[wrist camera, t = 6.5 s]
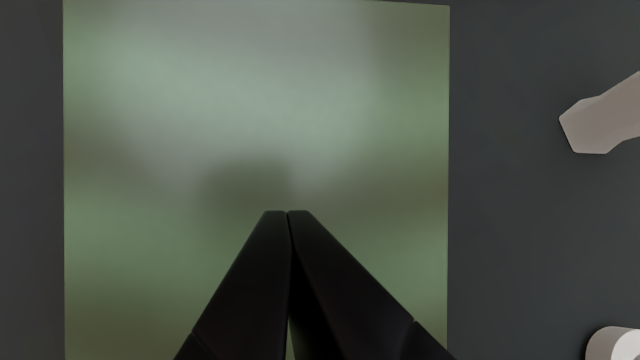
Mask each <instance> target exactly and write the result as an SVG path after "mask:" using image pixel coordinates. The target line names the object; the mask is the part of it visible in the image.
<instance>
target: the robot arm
mask: <svg viewBox="0 0 640 360" xmlns="http://www.w3.org/2000/svg"><path fill="white" fill-rule="evenodd" d="M288 321H289V329H290V335H291V341H292V346H293V352H294V357H295V360H457V359H456V358H455V357H454V356H452V355H451V354H450V353H449V352H448V351H447V350H446V349H445V348H444V347H443V346H442V345H441V344H440V343H439V342H438V341H437V340H436V339H435V338H434V337H433V336H432V335H431V334H430V333H429V332H428V331H427V330H426V329H425V328H424V327H423V326H422V325H421V324H420V323H419V322H418V321H414V317H413V316H412V315H411V314H410V313H409V312H408V311H407V310H406V309H405V308H404V307H403V306H402V305H401V304H400V303H399V302H398V301H397V300H396V299H395V298H394V297H393V296H392V295H391V294H390V293H389V292H388V291H387V290H386V289H385V288H384V287H383V286H382V285H381V284H380V283H379V282H378V281H377V280H376V278H375V277H374V276H373V275H372V274H371V273H370V272H369V271H368V270H367V269H366V268H365V267H364V266H363V265H362V264H361V263H360V262H359V261H358V260H357V259H356V258H355V257H354V256H353V255H352V254H351V253H350V252H349V251H348V250H347V249H346V248H345V247H344V246H343V245H342V244H341V243H340V242H339V241H338V240H337V239H336V238H335V237H334V236H333V235H332V234H331V233H330V232H329V231H328V230H327V229H326V228H325V227H324V226H323V225H322V224H321V223H320V222H319V221H318V219H317V218H316V217H315V216H314V215H313V214H312V213H311V212H310V211H308V210H289V211H288V212H287V213H286V211H284V210H266V211H264V213H263V214H262V216H261V217H260V219H259V221H258V222H257V224H256V226H255V227H254V229H253V230H252V232H251V234H250V235H249V237H248V239H247V240H246V242H245V244H244V245H243V247H242V248H241V250H240V252H239V253H238V255H237V257H236V258H235V260H234V261H233V263H232V265H231V266H230V268H229V270H228V271H227V273H226V275H225V276H224V278H223V279H222V281H221V283H220V284H219V286H218V288H217V289H216V291H215V293H214V294H213V296H212V297H211V299H210V301H209V302H208V304H207V306H206V307H205V309H204V310H203V312H202V314H201V315H200V317H199V319H198V320H197V322H196V324H195V325H194V327H193V328H192V331H191V333H190V334H189V335H188V336H187V338H186V339H185V341H184V343H183V344H182V346H181V348H180V349H179V351H178V353H177V354H176V356H175V357H174V359H173V360H286V347H287V333H288Z"/></svg>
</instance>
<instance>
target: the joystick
mask: <svg viewBox="0 0 640 360" xmlns="http://www.w3.org/2000/svg"><path fill="white" fill-rule="evenodd" d="M585 360H640V329H631V328H623V327H615V326H610V327H605V328H602V329H600V330H598V331H597V332H596V333H595V334H594V335H593V336H592V337H591V339H590V341H589V343H588V345H587V349H586V355H585Z"/></svg>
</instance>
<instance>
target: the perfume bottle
mask: <svg viewBox="0 0 640 360" xmlns="http://www.w3.org/2000/svg"><path fill="white" fill-rule="evenodd" d="M559 121H560V123H561V126H562V128H563V130H564V132H565V134H566V137H567V139H568V141H569V143H570V145H571V148H572V150H573V151H574V152H576V153H596V154H606V153H608V152H609V151H610V150H611V149H613V148H614V147H615V146H616V145H618V144H619V143H620V142H622V141H624V140H627V139H631V138H634V137H638V136H640V71H638V72H636V73H635V74H633V75H632V76H630V77H629V78H627V79H625V80H624V81H622V82H621V83H619V84H617V85H616V86H614V87H613V88H611V89H610V90H608V91H606V92H605V93H603V94H602V95H600V96H596V97H591V98H587V99H582V100H580V101H578V102H577V103H576V104H574V105H573V106H572V107H571V108H569V109H568V110H567V111H566V112H564V113H563V114H562V115H561V116H560V117H559Z"/></svg>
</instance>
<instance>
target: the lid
mask: <svg viewBox="0 0 640 360" xmlns="http://www.w3.org/2000/svg"><path fill="white" fill-rule="evenodd" d="M449 32H450V6H446V5H432V4H418V3H404V2H391V1H377V0H63V116H64V286H65V360H173V359H174V357H175V356H176V354H177V353H178V351H179V349H180V348H181V346H182V344H183V343H184V341H185V339H186V338H187V336H188V335H189V334H190V333H191V331H192V328H193V327H194V325H195V324H196V322H197V320H198V319H199V317H200V315H201V314H202V312H203V310H204V309H205V307H206V306H207V304H208V302H209V301H210V299H211V297H212V296H213V294H214V293H215V291H216V289H217V288H218V286H219V284H220V283H221V281H222V279H223V278H224V276H225V275H226V273H227V271H228V270H229V268H230V266H231V265H232V263H233V261H234V260H235V258H236V257H237V255H238V253H239V252H240V250H241V248H242V247H243V245H244V244H245V242H246V240H247V239H248V237H249V235H250V234H251V232H252V230H253V229H254V227H255V226H256V224H257V222H258V221H259V219H260V217H261V216H262V214H263V213H264V211H266V210H284V211H286V213H287V212H288V211H289V210H308V211H310V212H311V213H312V214H313V215H314V216H315V217H316V218H317V219H318V221H319V222H320V223H321V224H322V225H323V226H324V227H325V228H326V229H327V230H328V231H329V232H330V233H331V234H332V235H333V236H334V237H335V238H336V239H337V240H338V241H339V242H340V243H341V244H342V245H343V246H344V247H345V248H346V249H347V250H348V251H349V252H350V253H351V254H352V255H353V256H354V257H355V258H356V259H357V260H358V261H359V262H360V263H361V264H362V265H363V266H364V267H365V268H366V269H367V270H368V271H369V272H370V273H371V274H372V275H373V276H374V277H375V278H376V280H377V281H378V282H379V283H380V284H381V285H382V286H383V287H384V288H385V289H386V290H387V291H388V292H389V293H390V294H391V295H392V296H393V297H394V298H395V299H396V300H397V301H398V302H399V303H400V304H401V305H402V306H403V307H404V308H405V309H406V310H407V311H408V312H409V313H410V314H411V315H412V316H413V317H414V321H418V322H419V323H420V324H421V325H422V326H423V327H424V328H425V329H426V330H427V331H428V332H429V333H430V334H431V335H432V336H433V337H434V338H435V339H436V340H437V341H438V342H439V343H440V344H441V345H442V346H443V347H444V348H445V349H446V350H447V247H448V140H449ZM286 360H295V357H294V352H293V346H292V341H291V335H290V329H289V321H288V333H287V347H286Z"/></svg>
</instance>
